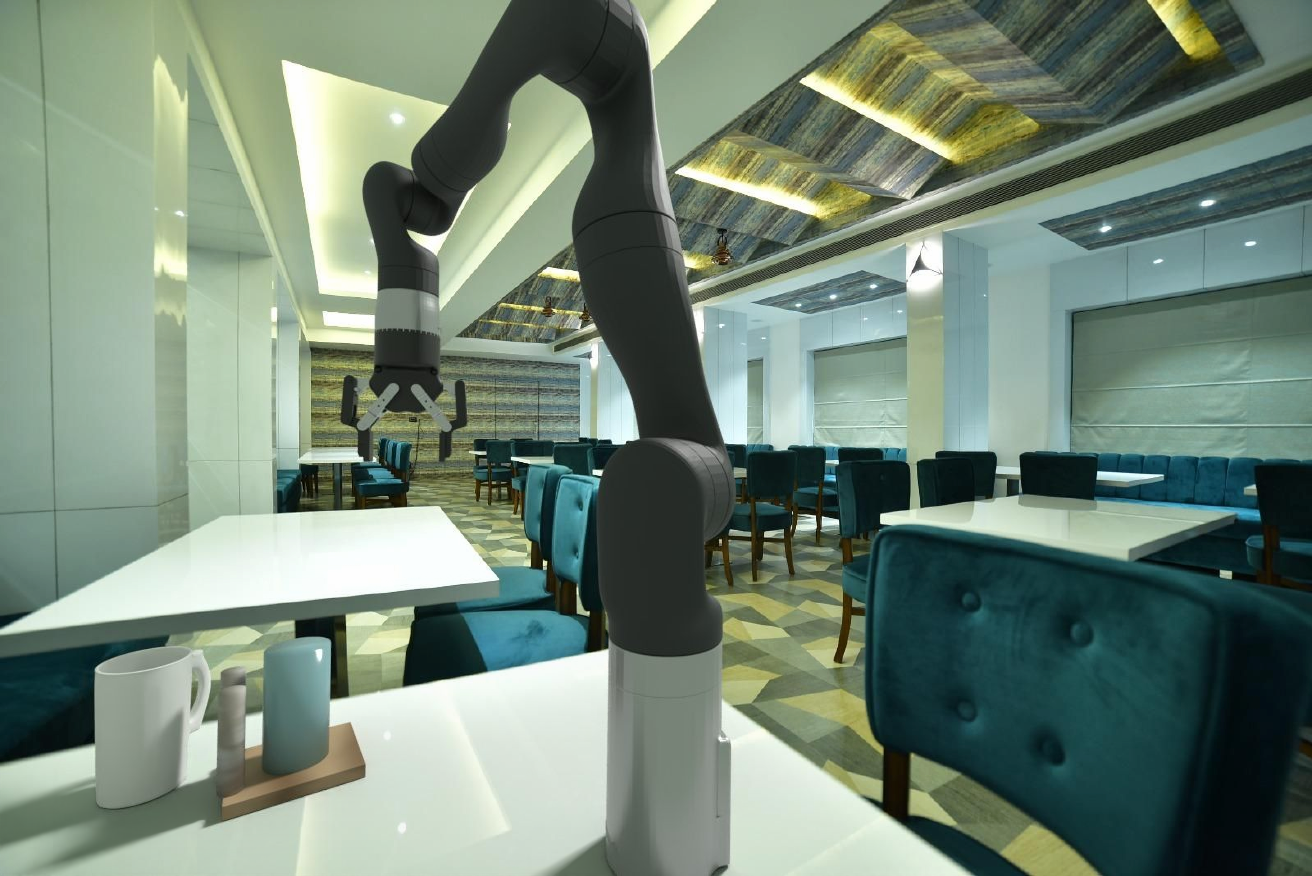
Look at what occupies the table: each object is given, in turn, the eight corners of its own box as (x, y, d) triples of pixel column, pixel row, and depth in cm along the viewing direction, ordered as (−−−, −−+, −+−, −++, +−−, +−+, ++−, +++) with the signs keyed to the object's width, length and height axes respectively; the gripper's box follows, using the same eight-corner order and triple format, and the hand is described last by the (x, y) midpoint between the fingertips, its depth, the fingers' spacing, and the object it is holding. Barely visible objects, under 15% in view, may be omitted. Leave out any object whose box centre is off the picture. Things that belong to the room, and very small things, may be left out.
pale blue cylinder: (335, 739, 58) (337, 634, 58) (319, 769, 53) (321, 654, 53) (274, 747, 57) (276, 639, 57) (251, 779, 51) (253, 660, 51)
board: (350, 732, 62) (351, 641, 62) (365, 776, 54) (367, 671, 54) (219, 767, 55) (221, 664, 55) (214, 823, 47) (216, 703, 47)
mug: (137, 815, 48) (140, 676, 48) (69, 808, 49) (72, 672, 49) (237, 751, 58) (239, 636, 58) (179, 746, 59) (181, 633, 59)
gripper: (335, 321, 63) (333, 463, 63) (467, 330, 67) (465, 463, 67) (352, 333, 71) (349, 460, 71) (469, 340, 75) (467, 461, 75)
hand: (406, 462), depth 69 cm, fingers open, 8 cm apart
